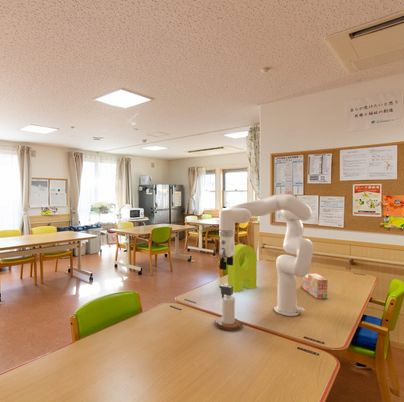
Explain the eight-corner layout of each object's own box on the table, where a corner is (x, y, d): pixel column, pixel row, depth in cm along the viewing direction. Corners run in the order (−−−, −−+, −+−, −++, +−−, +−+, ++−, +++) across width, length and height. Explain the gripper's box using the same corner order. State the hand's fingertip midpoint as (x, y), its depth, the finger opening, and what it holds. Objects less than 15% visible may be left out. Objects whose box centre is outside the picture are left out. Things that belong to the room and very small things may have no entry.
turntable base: (244, 323, 148) (244, 321, 148) (237, 333, 137) (237, 331, 137) (220, 317, 155) (220, 315, 155) (211, 326, 144) (211, 324, 144)
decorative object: (234, 292, 192) (234, 247, 191) (227, 289, 198) (227, 245, 197) (256, 287, 202) (256, 244, 200) (249, 284, 207) (249, 242, 206)
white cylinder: (243, 321, 147) (243, 285, 147) (236, 330, 138) (236, 291, 137) (221, 316, 154) (221, 281, 153) (213, 324, 144) (213, 287, 143)
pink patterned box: (300, 287, 201) (301, 269, 201) (309, 287, 201) (310, 269, 201) (317, 298, 180) (317, 279, 179) (327, 299, 180) (327, 279, 179)
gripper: (228, 236, 135) (227, 272, 136) (239, 231, 150) (239, 264, 151) (213, 234, 140) (212, 270, 140) (225, 230, 154) (225, 262, 155)
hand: (226, 267), depth 145 cm, fingers open, 9 cm apart
